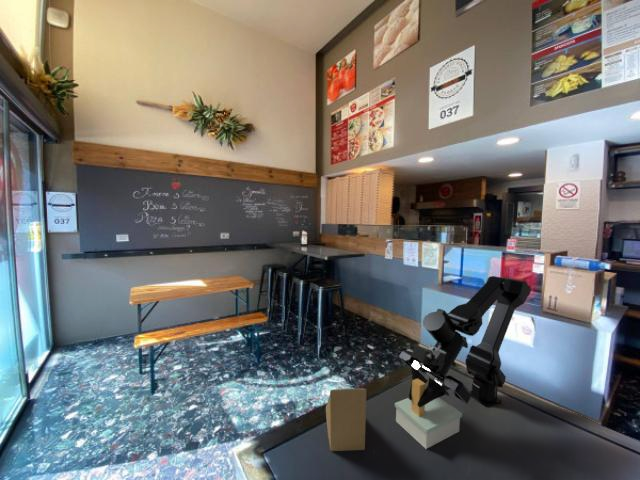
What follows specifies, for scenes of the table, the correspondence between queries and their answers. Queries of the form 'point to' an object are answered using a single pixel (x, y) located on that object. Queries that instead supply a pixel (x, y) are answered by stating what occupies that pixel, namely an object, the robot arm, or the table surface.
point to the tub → (431, 437)
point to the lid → (427, 410)
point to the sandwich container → (346, 419)
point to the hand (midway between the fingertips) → (414, 402)
